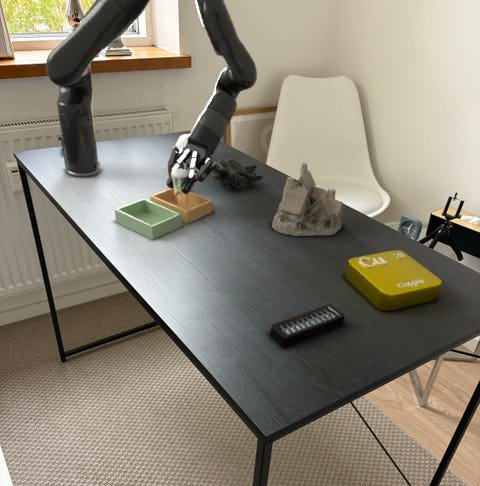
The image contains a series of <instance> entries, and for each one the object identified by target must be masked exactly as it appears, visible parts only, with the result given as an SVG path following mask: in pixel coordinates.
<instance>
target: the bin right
mask: <svg viewBox="0 0 480 486" xmlns="http://www.w3.org/2000/svg"><path fill="white" fill-rule="evenodd" d="M149 196H150V197H149V199H150V200H149V201H151V202H154V203H156V204H158V205H161V206H163V207H165V208H167V209H170V210H172V211H174V212H177V213H179V214H181V223H185V224H190V223H192V222H194V221H196V220H198V219H201V218H202V217H205V216H207V215H209V214H211V213H213V200H212V199H210V198H208V197H204V196H203V195H199V194H197V193H195V192H192V191H190V192H189V193H188V203H187V205H185V206H178V205H176V204H175V197H174V189H172V188H168V189H165V190H162V191H159V192H157V193H154V194H152V195H149Z"/></svg>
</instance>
